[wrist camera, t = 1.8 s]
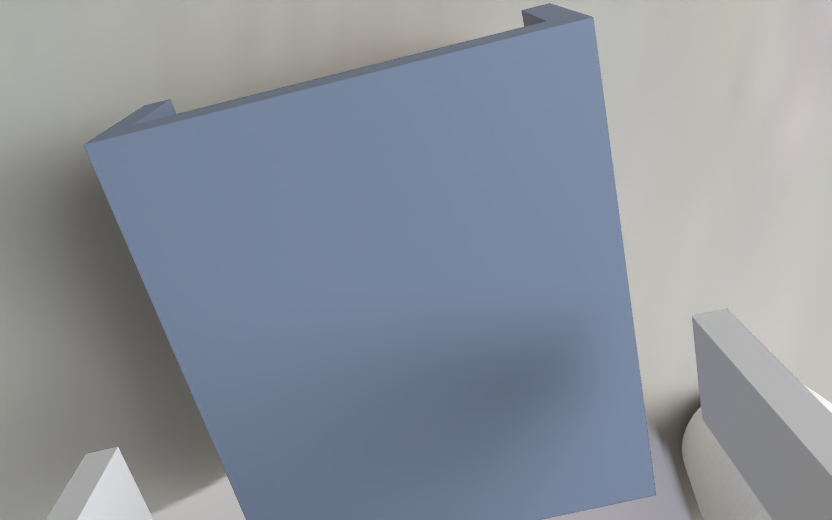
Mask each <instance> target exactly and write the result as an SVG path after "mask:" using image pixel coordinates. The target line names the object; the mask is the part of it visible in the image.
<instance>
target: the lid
mask: <svg viewBox="0 0 832 520" xmlns="http://www.w3.org/2000/svg"><path fill="white" fill-rule="evenodd" d="M522 16H523V22H524V27H522V28H518V29H514V30H510V31H506V32H502V33H498V34H494V35H490V36H486V37H482V38H478V39H474V40H470V41H466V42H462V43H458V44H454V45H450V46H446V47H442V48H438V49H434V50H430V51H426V52H422V53H418V54H414V55H410V56H406V57H402V58H398V59H394V60H390V61H386V62H383V63H379V64H375V65H371V66H367V67H363V68H359V69H355V70H351V71H347V72H343V73H339V74H335V75H331V76H327V77H323V78H319V79H315V80H311V81H307V82H303V83H299V84H295V85H291V86H287V87H283V88H279V89H275V90H271V91H267V92H263V93H259V94H255V95H251V96H247V97H243V98H239V99H235V100H231V101H227V102H223V103H219V104H215V105H212V106H208V107H204V108H200V109H196V110H192V111H188V112H184V113H180V114H176V113H175V110H174V107H173V105H172V102H171V99H169V100H165V101H161V102H157V103H153V104H149V105H146V106H143V107H142V108H140V109H139V110H137V111H135V112H134V113H132V114H131V115H129V116H128V117H126V118H125V119H123V120H122V121H120V122H118V123H117V124H115V125H114V126H112V127H111V128H109V129H108V130H106V131H104V132H103V133H101V134H100V135H98V136H97V137H95V138H94V139H92V140H91V141H89V142H87V143H86V144H84V147H85V149H86V152H87V154H88V156H89V159H90V161H91V163H92V166H93V168H94V170H95V172H96V175H97V177H98V179H99V182H100V184H101V186H102V189H103V191H104V193H105V195H106V198H107V200H108V202H109V205H110V207H111V209H112V212H113V214H114V216H115V219H116V221H117V223H118V225H119V228H120V230H121V232H122V235H123V237H124V239H125V242H126V244H127V246H128V248H129V251H130V253H131V255H132V258H133V260H134V262H135V265H136V267H137V269H138V272H139V274H140V276H141V278H142V281H143V283H144V285H145V288H146V290H147V292H148V295H149V297H150V299H151V301H152V304H153V306H154V308H155V311H156V313H157V315H158V318H159V320H160V322H161V324H162V327H163V329H164V331H165V334H166V336H167V338H168V341H169V343H170V345H171V348H172V350H173V352H174V354H175V357H176V359H177V361H178V364H179V366H180V368H181V371H182V373H183V375H184V377H185V380H186V382H187V384H188V387H189V389H190V391H191V394H192V396H193V398H194V401H195V403H196V405H197V407H198V410H199V412H200V414H201V417H202V419H203V421H204V424H205V426H206V428H207V430H208V433H209V435H210V437H211V440H212V442H213V444H214V447H215V449H216V451H217V454H218V456H219V458H220V460H221V463H222V465H223V467H224V470H225V472H226V474H227V477H228V479H229V481H230V483H231V485H232V488H233V490H234V493H235V495H236V497H237V500H238V502H239V504H240V506H241V509H242V511H243V513H244V516H245V518H246V520H541V519H546V518H551V517H555V516H560V515H565V514H569V513H574V512H579V511H584V510H588V509H593V508H597V507H602V506H607V505H612V504H616V503H621V502H626V501H631V500H635V499H640V498H645V497H649V496H654V495H656V491H655V483H654V476H653V468H652V461H651V453H650V445H649V439H648V430H647V422H646V415H645V407H644V400H643V392H642V384H641V377H640V369H639V361H638V354H637V346H636V339H635V331H634V323H633V316H632V308H631V301H630V293H629V285H628V278H627V270H626V262H625V255H624V247H623V240H622V232H621V224H620V217H619V209H618V202H617V194H616V186H615V179H614V171H613V163H612V156H611V148H610V141H609V133H608V125H607V118H606V110H605V102H604V95H603V87H602V80H601V72H600V64H599V57H598V49H597V42H596V34H595V26H594V19H593V17H591V16H588V15H585V14H582V13H578V12H575V11H572V10H569V9H566V8H563V7H559V6H556V5H553V4H550V3H549V4H545V5H541V6H537V7H533V8H529V9H525V10H522Z"/></svg>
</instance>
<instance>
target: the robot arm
mask: <svg viewBox="0 0 832 520" xmlns="http://www.w3.org/2000/svg"><path fill="white" fill-rule="evenodd" d="M692 322H693V332H694V342H695V352H696V362H697V372H698V382H699V392H700V402H701V412H702V420H703V421H704V423H705V424H706V425H707V427H708V428H709V430H710V431H711V433H712V434H713V435H714V437H715V438H716V440H717V441H718V443H719V444H720V445H721V447H722V448H723V450H724V451H725V453H726V454H727V455H728V457H729V458H730V460H731V461H732V463H733V464H734V465H735V467H736V468H737V470H738V471H739V473H740V474H741V475H742V477H743V478H744V480H745V481H746V483H747V484H748V486H749V487H750V488H751V490H752V491H753V493H754V494H755V496H756V497H757V498H758V500H759V501H760V503H761V504H762V506H763V507H764V508H765V510H766V511H767V513H768V514H769V516H770V517H771V518H772V520H832V413H831V412H830V411H829V410H828V409H827V408H826V407H825V406H824V405H823V404H822V403H821V402H820V401H819V400H818V399H817V398H816V397H815V396H814V395H813V394H812V393H811V392H810V391H809V390H808V389H807V388H806V387H805V386H804V385H803V384H802V383H801V382H800V381H799V380H798V379H797V378H796V377H795V376H794V375H793V374H792V373H791V372H790V371H789V370H788V369H787V368H786V367H785V366H784V365H783V364H782V363H781V362H780V361H779V360H778V359H777V358H776V357H775V356H774V355H773V354H772V353H771V352H770V351H769V350H768V349H767V348H766V347H765V346H764V345H763V344H762V343H761V342H760V341H759V340H758V339H757V338H756V337H755V336H754V335H753V334H752V333H751V332H750V331H749V330H748V329H747V328H746V327H745V326H744V325H743V324H742V323H741V322H740V321H739V320H738V319H737V318H736V317H735V316H734V315H733V314H732V313H731V312H730V311H729V310H728V309H727V308H726V309H721V310H717V311H712V312H708V313H704V314H699V315H695V316H692ZM46 520H153V518H152V516H151V514H150V511H149V509H148V507H147V505H146V503H145V501H144V499H143V497H142V495H141V493H140V491H139V489H138V487H137V485H136V483H135V481H134V479H133V477H132V475H131V473H130V470H129V468H128V466H127V464H126V462H125V460H124V458H123V456H122V454H121V452H120V450H119V448H118V447H114V448H109V449H105V450H101V451H96V452H92V453H87V454H85V456H84V458H83V459H82V461H81V463H80V464H79V466H78V468H77V469H76V471H75V472H74V474H73V476H72V477H71V479H70V481H69V482H68V484H67V485H66V487H65V489H64V490H63V492H62V494H61V495H60V497H59V499H58V500H57V502H56V503H55V505H54V507H53V508H52V510H51V512H50V513H49V515H48V516H47V518H46Z"/></svg>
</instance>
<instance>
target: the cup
mask: <svg viewBox="0 0 832 520" xmlns="http://www.w3.org/2000/svg"><path fill="white" fill-rule="evenodd" d="M805 387H806V386H805ZM806 388H807V389H808V390H809V391H810V392H811V393H812V394H813V395H814V396H815V397H816V398H817V399H818V400H819V401H820V402H821V403H822V404H823V405H824V406H825V407H826V408H827V409H828V410H829V411H830V412H831V413H832V403H830V402H829V401H827V400H826V399H824V398H823V397H821V396H820V395H818V394H817V393H815V392H814V391H812V390H811V389H809V388H808V387H806ZM682 455H683V462H684V465H685V468H686V471H687V474H688V477H689V480H690V483H691V486H692V489H693V493H694V495H695V497H696V500H697V504H698V506H699V509H700V513H701V516H702V518H703V520H772V518H771V517H770V516H769V514H768V513H767V511H766V510H765V508H764V507H763V506H762V504H761V503H760V501H759V500H758V498H757V497H756V496H755V494H754V493H753V491H752V490H751V488H750V487H749V486H748V484H747V483H746V481H745V480H744V478H743V477H742V475H741V474H740V473H739V471H738V470H737V468H736V467H735V465H734V464H733V463H732V461H731V460H730V458H729V457H728V455H727V454H726V453H725V451H724V450H723V448H722V447H721V445H720V444H719V443H718V441H717V440H716V438H715V437H714V435H713V434H712V433H711V431H710V430H709V428H708V427H707V425H706V424H705V423H704V421H703V420H702V412H701V407H700V408H699V409H698V410H697V411H696V412H695V414H694V415H693V417H692V418H691V420H690V422H689V423H688V425H687V427H686V430H685V433H684V436H683V442H682Z"/></svg>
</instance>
